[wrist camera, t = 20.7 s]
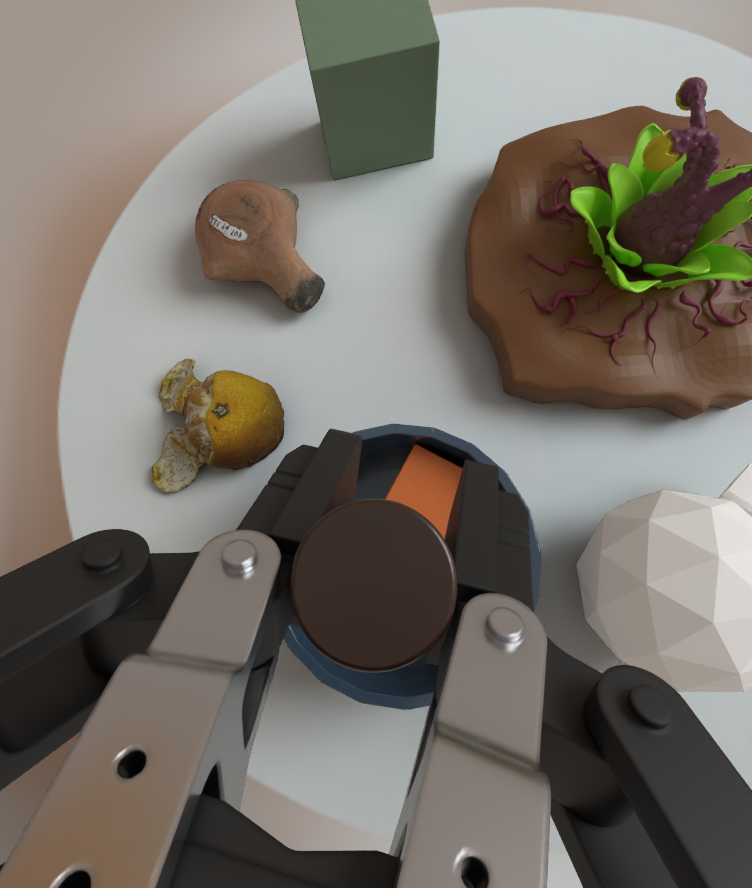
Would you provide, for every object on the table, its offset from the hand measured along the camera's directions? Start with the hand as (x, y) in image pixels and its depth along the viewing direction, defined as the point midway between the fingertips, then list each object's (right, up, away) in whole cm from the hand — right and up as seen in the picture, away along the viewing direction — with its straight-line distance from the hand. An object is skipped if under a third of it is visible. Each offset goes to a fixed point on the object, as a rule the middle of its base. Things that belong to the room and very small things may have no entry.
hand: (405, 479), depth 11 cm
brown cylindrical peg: (0, -3, +4) cm, 5 cm away
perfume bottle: (+15, -6, +16) cm, 23 cm away
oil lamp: (-8, +13, +22) cm, 27 cm away
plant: (+15, +12, +20) cm, 27 cm away
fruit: (-11, +2, +20) cm, 23 cm away
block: (+2, -3, +17) cm, 17 cm away
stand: (-1, +22, +23) cm, 32 cm away
